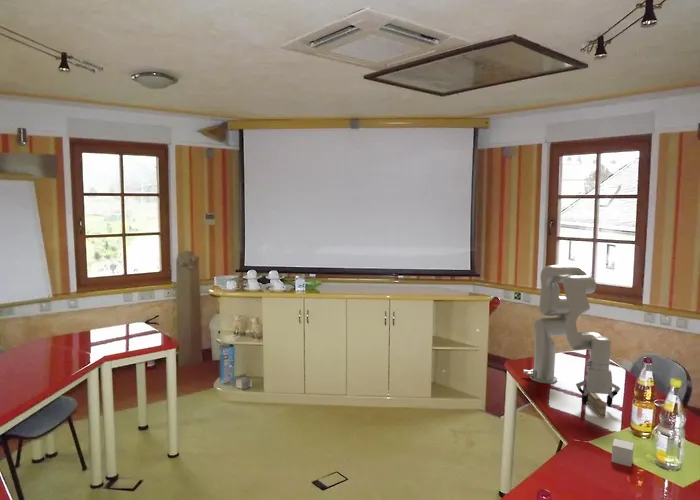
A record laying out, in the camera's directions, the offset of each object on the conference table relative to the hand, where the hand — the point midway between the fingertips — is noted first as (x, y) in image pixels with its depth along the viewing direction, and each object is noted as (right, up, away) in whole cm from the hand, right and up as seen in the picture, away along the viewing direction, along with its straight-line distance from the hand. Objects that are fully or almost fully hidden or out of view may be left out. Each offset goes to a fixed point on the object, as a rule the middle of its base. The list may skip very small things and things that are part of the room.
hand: (596, 404), depth 217 cm
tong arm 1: (-1, -2, 0) cm, 2 cm away
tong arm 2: (+1, -2, 0) cm, 2 cm away
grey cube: (-12, -7, -42) cm, 44 cm away
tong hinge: (+2, -2, +10) cm, 11 cm away
